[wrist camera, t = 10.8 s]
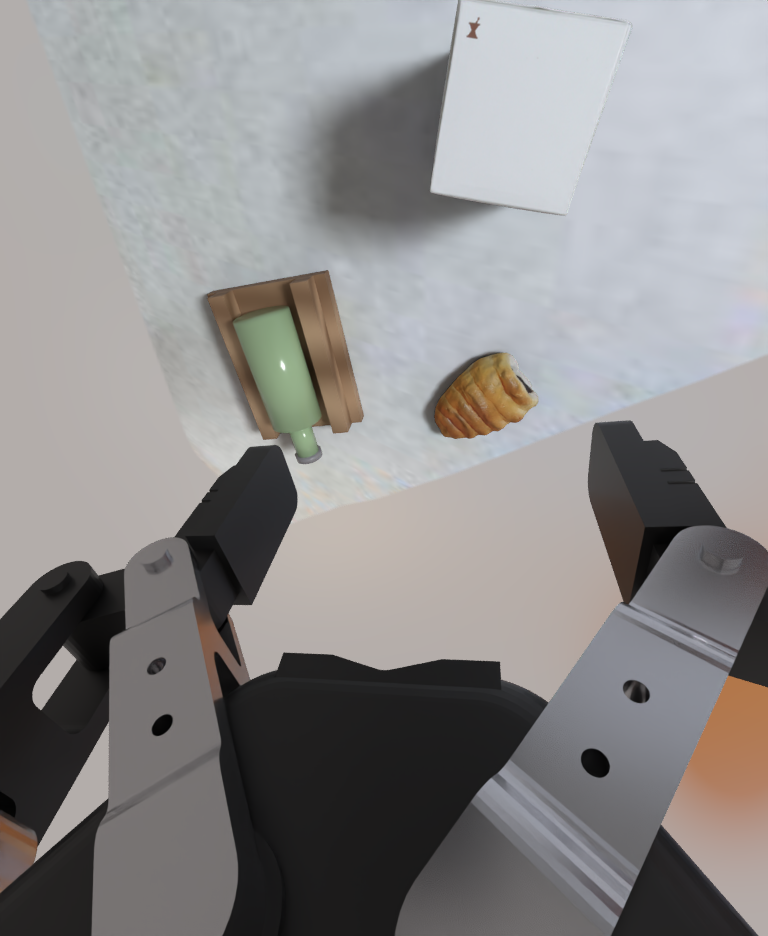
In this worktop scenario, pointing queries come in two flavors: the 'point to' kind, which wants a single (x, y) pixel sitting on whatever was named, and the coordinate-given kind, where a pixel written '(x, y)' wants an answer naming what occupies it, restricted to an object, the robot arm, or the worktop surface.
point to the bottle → (281, 376)
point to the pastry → (485, 398)
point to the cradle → (317, 338)
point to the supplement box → (523, 102)
